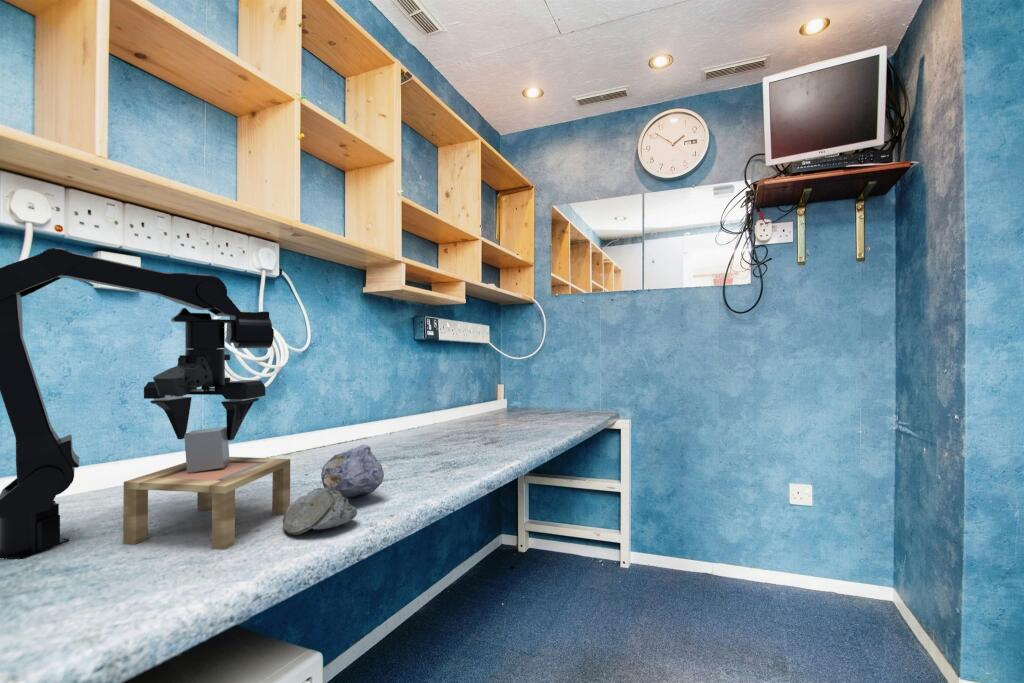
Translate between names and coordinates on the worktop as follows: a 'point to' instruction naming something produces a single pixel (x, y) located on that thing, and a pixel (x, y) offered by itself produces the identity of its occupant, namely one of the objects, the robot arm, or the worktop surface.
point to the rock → (353, 472)
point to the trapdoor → (216, 472)
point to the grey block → (206, 449)
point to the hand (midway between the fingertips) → (205, 439)
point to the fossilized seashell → (318, 511)
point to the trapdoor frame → (204, 497)
